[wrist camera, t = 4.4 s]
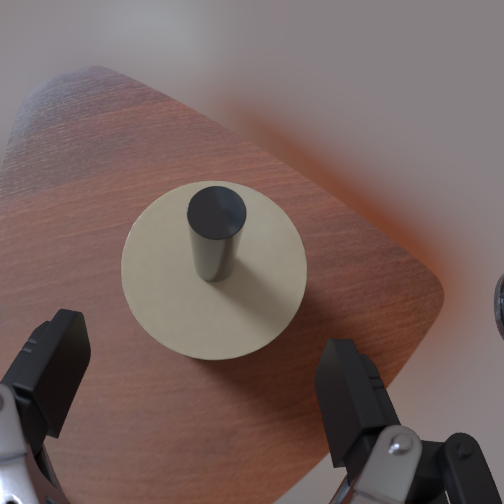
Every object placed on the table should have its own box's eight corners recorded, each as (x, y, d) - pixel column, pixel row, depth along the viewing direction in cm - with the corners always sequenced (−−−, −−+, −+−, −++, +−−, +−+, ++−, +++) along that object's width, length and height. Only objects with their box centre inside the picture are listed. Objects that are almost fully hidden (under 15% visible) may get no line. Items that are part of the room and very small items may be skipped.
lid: (303, 199, 25) (342, 127, 16) (298, 365, 20) (354, 366, 12) (143, 182, 23) (120, 102, 15) (113, 346, 19) (55, 335, 11)
